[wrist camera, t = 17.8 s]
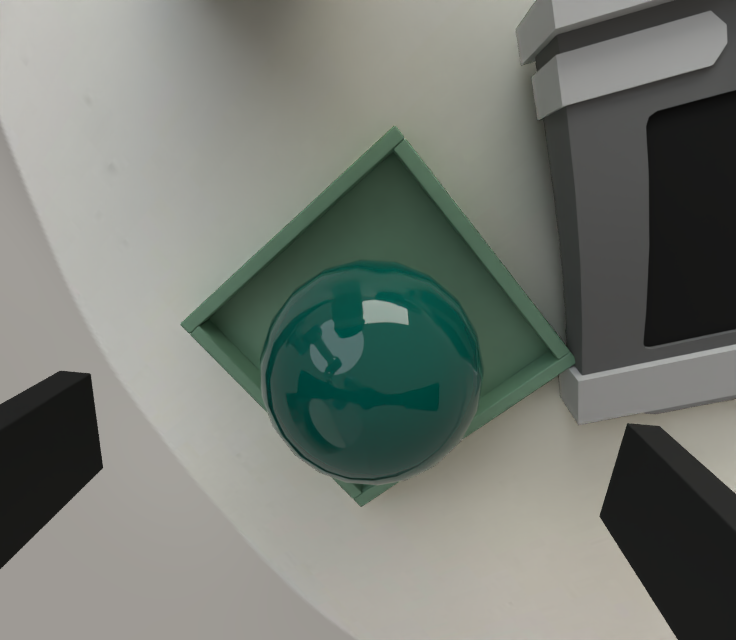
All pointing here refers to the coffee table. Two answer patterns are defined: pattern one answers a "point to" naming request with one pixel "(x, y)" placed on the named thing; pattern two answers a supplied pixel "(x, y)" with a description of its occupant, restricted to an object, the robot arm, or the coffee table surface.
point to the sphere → (371, 372)
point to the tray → (390, 243)
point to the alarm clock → (641, 196)
